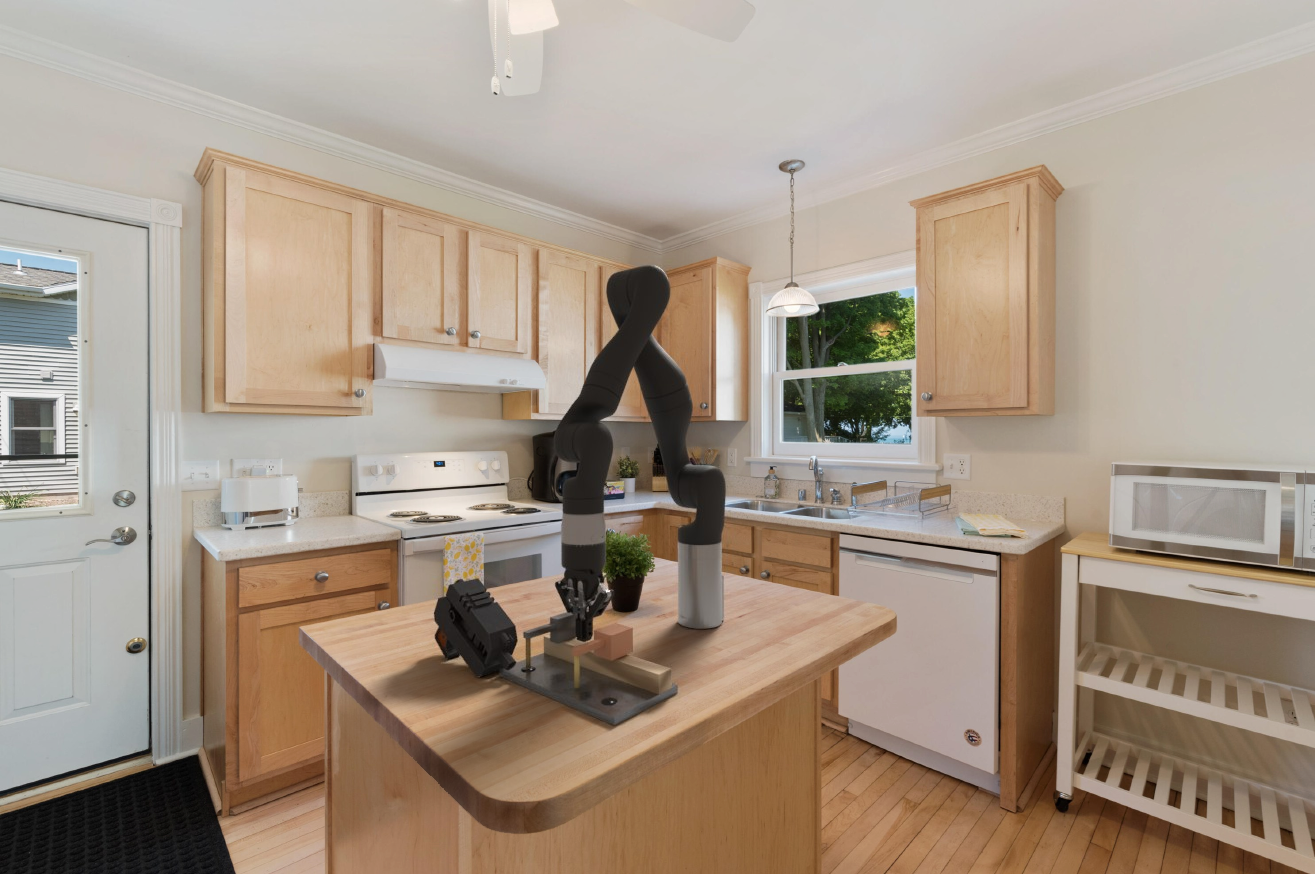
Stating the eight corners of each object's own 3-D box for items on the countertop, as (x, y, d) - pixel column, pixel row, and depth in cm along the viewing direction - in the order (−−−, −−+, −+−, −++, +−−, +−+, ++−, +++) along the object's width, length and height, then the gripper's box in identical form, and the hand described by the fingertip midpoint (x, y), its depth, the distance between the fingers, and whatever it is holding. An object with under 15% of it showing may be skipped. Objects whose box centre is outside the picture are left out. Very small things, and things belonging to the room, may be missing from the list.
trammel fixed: (561, 646, 114) (560, 607, 113) (675, 685, 96) (675, 639, 96) (511, 664, 105) (510, 622, 105) (626, 710, 88) (626, 660, 88)
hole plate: (563, 652, 114) (563, 645, 114) (677, 692, 96) (677, 684, 96) (498, 675, 103) (498, 668, 103) (614, 725, 86) (614, 716, 86)
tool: (452, 630, 118) (474, 568, 113) (506, 705, 107) (534, 639, 102) (422, 639, 113) (444, 574, 108) (476, 718, 103) (503, 650, 98)
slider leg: (615, 663, 104) (615, 622, 104) (633, 669, 102) (632, 627, 102) (565, 684, 96) (565, 640, 96) (583, 691, 93) (583, 645, 93)
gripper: (626, 540, 104) (627, 642, 104) (574, 531, 113) (574, 626, 113) (594, 546, 98) (595, 655, 99) (541, 537, 107) (542, 637, 107)
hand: (584, 639), depth 106 cm, fingers closed
